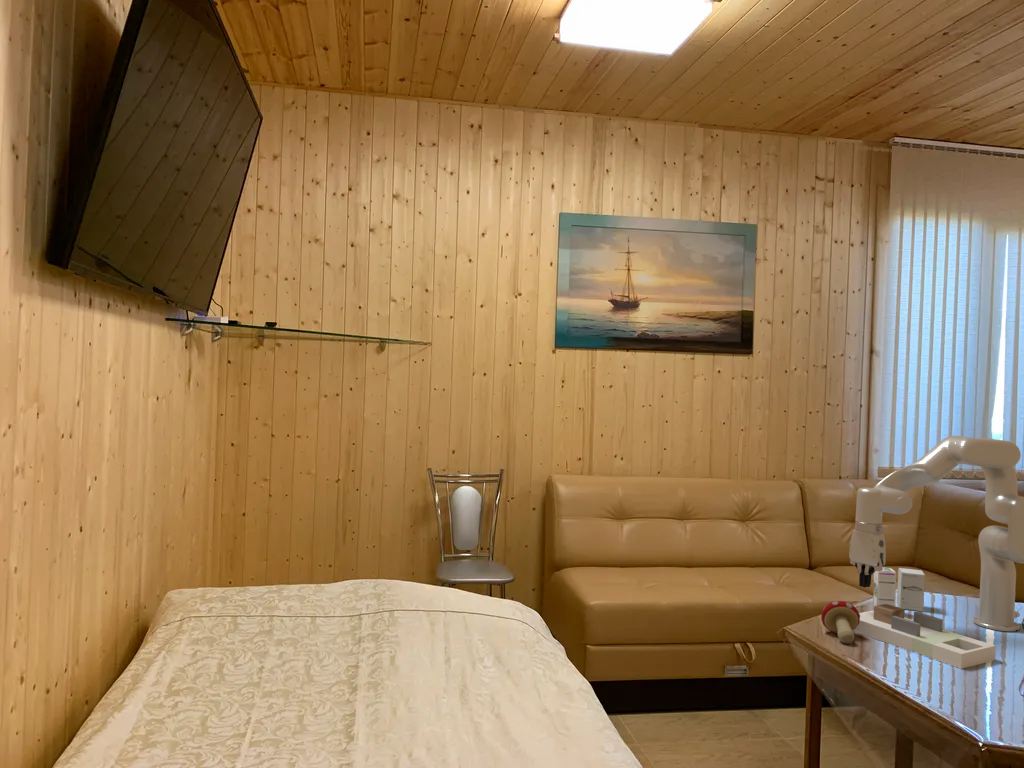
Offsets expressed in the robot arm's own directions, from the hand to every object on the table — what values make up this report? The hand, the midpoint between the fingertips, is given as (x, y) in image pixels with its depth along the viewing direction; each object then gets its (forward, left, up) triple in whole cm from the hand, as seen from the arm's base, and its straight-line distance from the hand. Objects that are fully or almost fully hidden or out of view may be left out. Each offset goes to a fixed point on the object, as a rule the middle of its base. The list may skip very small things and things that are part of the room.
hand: (864, 586), depth 241 cm
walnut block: (-1, +8, -8) cm, 12 cm away
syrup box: (-20, -7, -13) cm, 24 cm away
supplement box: (-34, -7, -13) cm, 36 cm away
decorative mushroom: (+16, +4, -13) cm, 21 cm away
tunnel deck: (-1, +17, -12) cm, 21 cm away
